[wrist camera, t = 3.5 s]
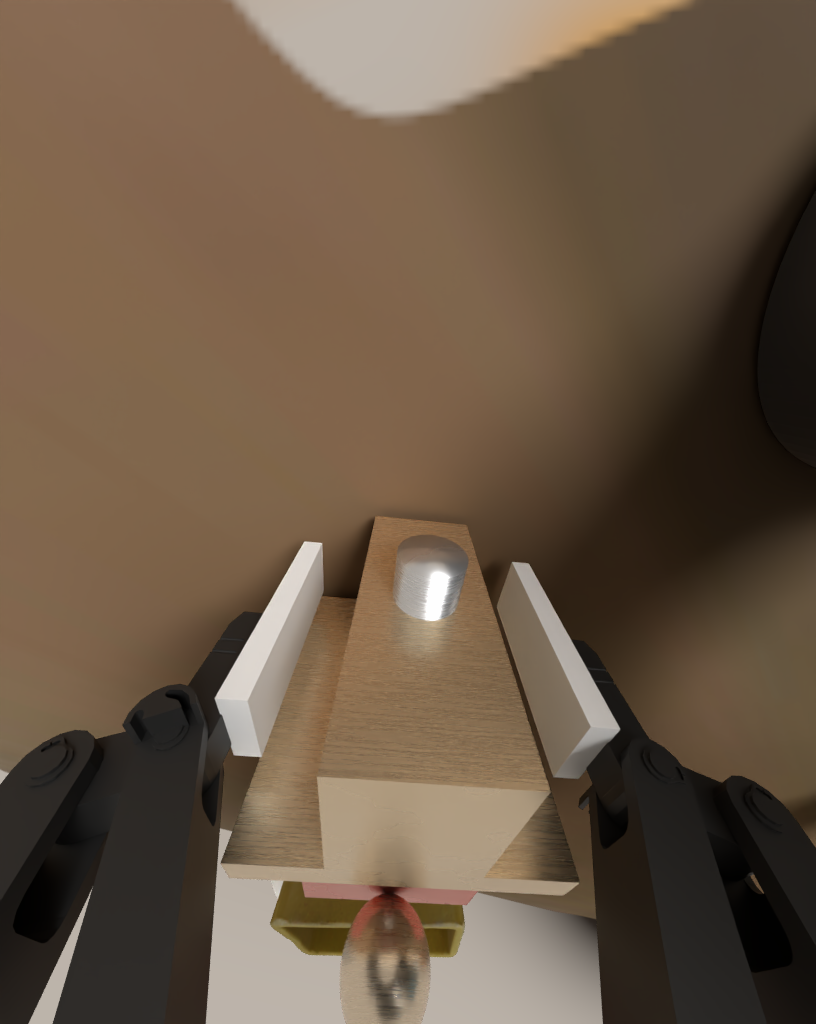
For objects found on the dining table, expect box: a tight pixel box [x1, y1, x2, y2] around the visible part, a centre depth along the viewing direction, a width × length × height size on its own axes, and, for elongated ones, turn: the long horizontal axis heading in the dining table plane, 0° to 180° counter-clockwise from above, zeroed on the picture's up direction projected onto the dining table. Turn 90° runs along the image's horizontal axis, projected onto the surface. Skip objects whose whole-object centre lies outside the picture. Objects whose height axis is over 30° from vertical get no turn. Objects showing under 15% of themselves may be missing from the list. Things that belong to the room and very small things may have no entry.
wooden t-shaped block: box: [221, 516, 580, 1024], centre depth 11 cm, size 9×13×11 cm
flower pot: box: [270, 881, 465, 957], centre depth 19 cm, size 9×9×9 cm
